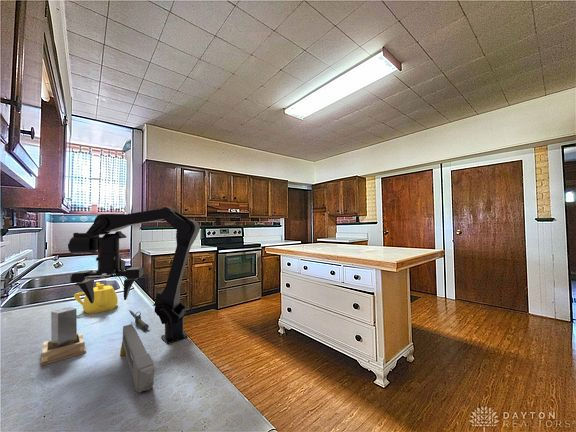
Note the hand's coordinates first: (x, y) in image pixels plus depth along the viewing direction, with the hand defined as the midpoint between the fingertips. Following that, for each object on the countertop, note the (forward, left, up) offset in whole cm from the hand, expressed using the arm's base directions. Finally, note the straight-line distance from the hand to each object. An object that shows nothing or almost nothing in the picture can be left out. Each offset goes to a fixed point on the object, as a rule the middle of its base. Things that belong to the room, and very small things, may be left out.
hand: (109, 301), depth 82 cm
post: (+2, +11, -12) cm, 17 cm away
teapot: (+43, -1, -13) cm, 45 cm away
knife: (+10, -10, -13) cm, 19 cm away
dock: (+2, +11, -13) cm, 17 cm away
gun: (-24, -2, -14) cm, 28 cm away
